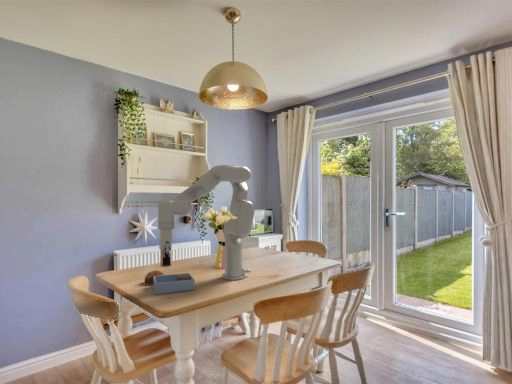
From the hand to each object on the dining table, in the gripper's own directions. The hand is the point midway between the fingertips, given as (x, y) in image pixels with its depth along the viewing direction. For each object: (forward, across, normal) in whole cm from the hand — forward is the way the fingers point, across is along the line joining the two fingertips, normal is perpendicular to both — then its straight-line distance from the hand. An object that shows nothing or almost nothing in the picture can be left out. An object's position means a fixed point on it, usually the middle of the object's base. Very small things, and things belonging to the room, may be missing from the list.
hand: (165, 263), depth 145 cm
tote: (+12, 0, +4) cm, 13 cm away
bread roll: (+13, -13, -4) cm, 18 cm away
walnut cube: (+11, 0, +8) cm, 14 cm away
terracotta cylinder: (+1, 0, 0) cm, 1 cm away
